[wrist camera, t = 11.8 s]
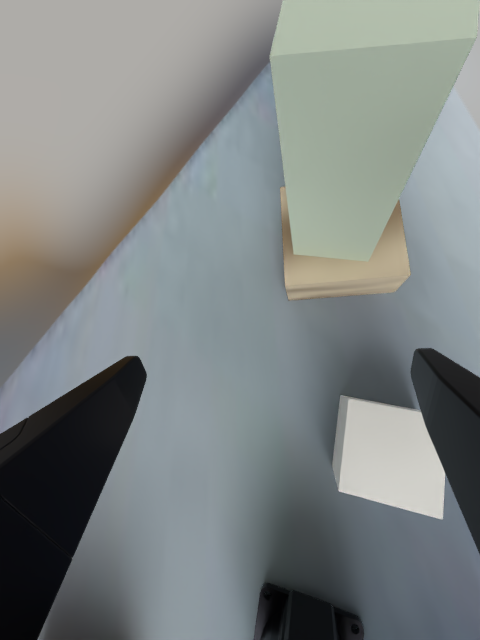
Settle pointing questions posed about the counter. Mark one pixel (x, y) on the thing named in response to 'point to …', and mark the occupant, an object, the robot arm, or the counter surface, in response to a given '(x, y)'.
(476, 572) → the counter surface
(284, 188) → the oak base block
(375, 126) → the sage pillar
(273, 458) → the counter surface
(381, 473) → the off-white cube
